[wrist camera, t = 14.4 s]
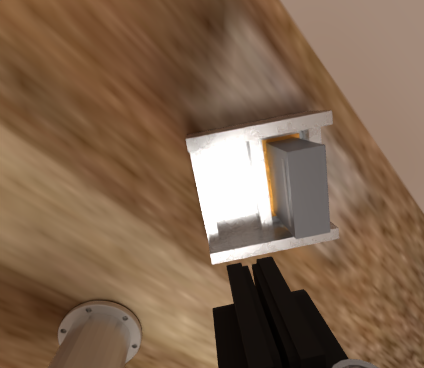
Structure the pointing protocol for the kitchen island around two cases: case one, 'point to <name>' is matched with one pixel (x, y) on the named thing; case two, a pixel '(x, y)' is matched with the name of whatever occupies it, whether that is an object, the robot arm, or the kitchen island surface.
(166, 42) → the kitchen island surface
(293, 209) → the panel
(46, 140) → the kitchen island surface
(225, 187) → the rack
